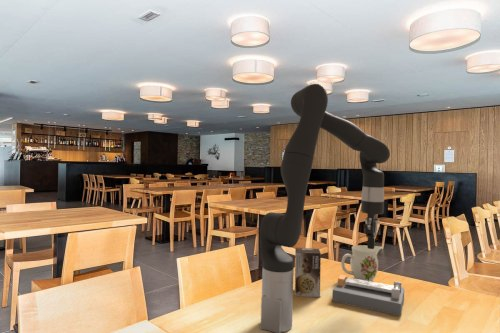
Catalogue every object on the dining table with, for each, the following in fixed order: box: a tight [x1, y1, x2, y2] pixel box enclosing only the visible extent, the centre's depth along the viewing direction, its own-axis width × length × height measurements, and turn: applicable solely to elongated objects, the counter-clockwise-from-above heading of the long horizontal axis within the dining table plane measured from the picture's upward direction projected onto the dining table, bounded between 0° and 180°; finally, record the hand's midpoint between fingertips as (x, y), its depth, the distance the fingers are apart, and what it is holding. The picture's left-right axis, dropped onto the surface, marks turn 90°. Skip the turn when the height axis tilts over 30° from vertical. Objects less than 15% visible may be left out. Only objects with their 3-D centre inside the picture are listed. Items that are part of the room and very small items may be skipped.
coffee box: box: [294, 247, 322, 298], centre depth 125 cm, size 9×6×16 cm
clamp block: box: [331, 276, 405, 317], centre depth 121 cm, size 16×22×7 cm
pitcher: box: [340, 244, 384, 282], centre depth 141 cm, size 11×18×14 cm, turn 99°
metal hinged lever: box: [345, 276, 400, 293], centre depth 120 cm, size 6×18×2 cm, turn 62°
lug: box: [337, 274, 348, 286], centre depth 125 cm, size 5×2×2 cm, turn 152°
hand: (370, 248), depth 120 cm, fingers closed
